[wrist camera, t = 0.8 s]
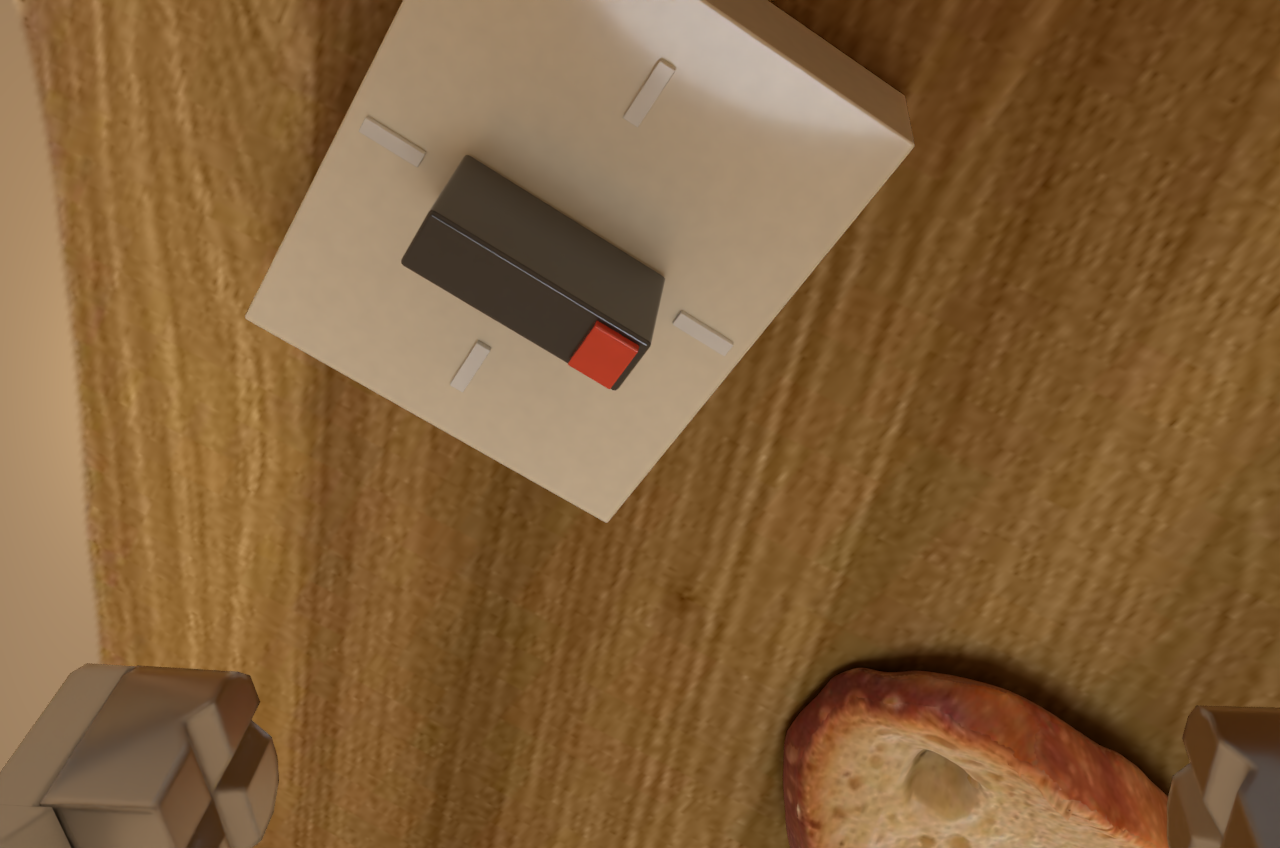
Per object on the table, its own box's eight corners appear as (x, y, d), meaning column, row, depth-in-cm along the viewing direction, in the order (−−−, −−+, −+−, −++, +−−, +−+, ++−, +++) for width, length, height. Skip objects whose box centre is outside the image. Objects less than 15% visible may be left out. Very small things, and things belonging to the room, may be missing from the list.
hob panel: (513, -178, 25) (477, -154, 22) (906, 96, 27) (916, 148, 24) (288, 262, 31) (240, 322, 28) (622, 456, 33) (606, 528, 30)
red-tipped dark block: (436, 202, 26) (394, 270, 23) (466, 151, 25) (425, 214, 23) (633, 323, 27) (614, 400, 25) (667, 277, 26) (651, 351, 24)
